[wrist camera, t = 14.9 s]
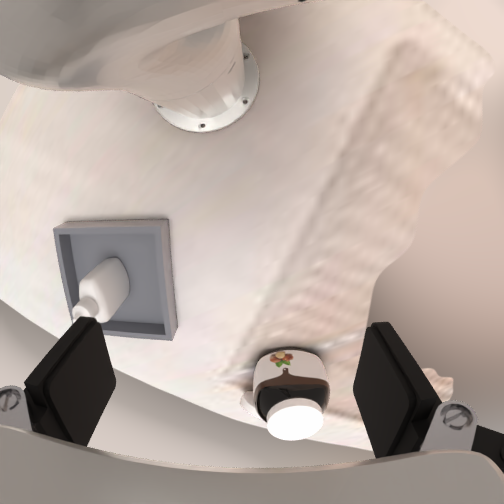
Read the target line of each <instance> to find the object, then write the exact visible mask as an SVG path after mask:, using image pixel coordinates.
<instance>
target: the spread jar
mask: <svg viewBox="0 0 504 504" xmlns="http://www.w3.org/2000/svg"><path fill="white" fill-rule="evenodd" d="M329 396H330V386H329V380H328V376H327V373H326V370H325V367H324V364H323V362H322V361H321V359H320V358H319V357H318V356H316V355H315V354H313V353H311V352H308V351H306V350H302V349H298V348H282V349H278V350H275V351H272V352H270V353H268V354H266V355H264V356H263V357H262V358H261V359H260V360H259V361H258V363H257V365H256V368H255V372H254V378H253V391H247V392H245V393H244V394H243V396H242V398H241V400H240V405H241V407H242V408H243V409H244V410H245V411H246V412H247V413H249V414H250V415H252V416H253V417H255V418H257V419H260V420H263V421H265V422H266V423H267V429H268V431H269V432H270V433H271V434H272V435H273V436H274V437H277V438H279V439H282V440H300V439H304V438H307V437H309V436H311V435H313V434H315V433H316V432H317V431H318V430H319V429H320V428H321V427H322V425H323V421H324V418H323V413H324V412H325V410H326V408H327V405H328V402H329Z"/></svg>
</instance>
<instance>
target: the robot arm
mask: <svg viewBox="0 0 504 504" xmlns="http://www.w3.org/2000/svg"><path fill="white" fill-rule="evenodd" d="M316 1H323V0H0V75H2V76H4V77H6V78H8V79H10V80H13V81H15V82H18V83H21V84H24V85H27V86H31V87H35V88H40V89H45V90H54V91H78V92H79V91H102V90H122V91H126V92H129V93H132V94H134V95H137V96H139V97H141V98H143V99H146V100H148V101H151V102H152V103H153V104H154V106H155V108H156V110H157V112H158V113H159V114H160V115H161V116H162V118H163V119H165V120H166V121H167V122H168V123H170V124H171V125H173V126H175V127H177V128H179V129H182V130H185V131H189V132H195V133H207V132H213V131H217V130H220V129H223V128H226V127H228V126H230V125H231V124H233V123H235V122H236V121H237V120H239V119H240V118H241V117H242V116H244V114H245V113H246V112H247V111H248V110H249V108H250V107H251V105H252V103H253V102H254V100H255V98H256V95H257V91H258V87H259V70H258V65H257V62H256V60H255V58H254V56H253V54H252V53H251V51H250V50H249V49H248V47H247V46H246V45H244V44H243V43H242V42H241V37H240V26H239V20H238V18H240V17H244V16H248V15H251V14H255V13H259V12H264V11H268V10H272V9H277V8H282V7H287V6H292V5H297V4H303V3H309V2H316ZM245 56H247V57H248V59H244V57H245ZM244 100H247V101H248V103H247V104H244V103H243V101H244ZM161 106H162V107H163V108H162V107H161ZM202 124H205V127H204V128H201V125H202ZM24 384H25V386H26V388H25V389H24V391H23V390H22V389H21V388H20V387H17V386H5V387H2V388H0V504H504V434H502V433H499V432H496V431H493V430H490V429H487V428H485V427H482V426H479V425H477V415H476V412H475V411H474V410H473V408H472V407H470V406H469V405H468V404H466V403H464V402H461V401H456V400H450V401H446V402H443V403H442V401H441V400H440V398H439V397H438V395H437V393H436V392H435V390H434V389H433V387H432V385H431V384H430V382H429V381H428V379H427V378H426V376H425V374H424V373H423V371H422V370H421V368H420V367H419V365H418V364H417V362H416V361H415V359H414V358H413V356H412V355H411V353H410V352H409V351H408V349H407V347H406V346H405V345H404V343H403V342H402V340H401V339H400V337H399V336H398V334H397V333H396V331H395V330H394V328H393V327H392V326H391V324H390V323H389V322H375V323H372V325H371V327H368V328H367V329H366V333H365V338H364V342H363V347H362V351H361V356H360V360H359V364H358V368H357V372H356V377H355V380H354V385H353V393H354V396H355V399H356V402H357V405H358V408H359V410H360V413H361V416H362V419H363V422H364V425H365V428H366V431H367V434H368V437H369V439H370V442H371V445H372V448H373V451H374V454H375V457H376V459H369V460H363V461H355V462H347V463H338V464H329V465H319V466H306V467H286V468H229V467H211V466H198V465H187V464H178V463H169V462H162V461H155V460H149V459H142V458H137V457H131V456H125V455H121V454H116V453H111V452H106V451H102V450H98V449H94V448H90V447H87V445H88V443H89V441H90V438H91V436H92V434H93V432H94V430H95V428H96V426H97V424H98V422H99V419H100V417H101V415H102V413H103V411H104V409H105V407H106V405H107V403H108V401H109V399H110V397H111V395H112V393H113V391H114V389H115V386H116V378H115V375H114V371H113V368H112V364H111V361H110V357H109V354H108V350H107V346H106V342H105V338H104V334H103V330H102V326H101V324H100V322H97V320H96V318H94V317H85V316H80V317H79V318H78V319H77V320H76V321H75V322H74V323H73V325H72V326H71V327H70V328H69V329H68V330H67V331H66V332H65V334H64V335H63V336H62V337H61V338H60V339H59V341H58V342H57V343H56V344H55V345H54V346H53V348H52V349H51V350H50V351H49V352H48V354H47V355H46V356H45V357H44V358H43V359H42V361H41V362H40V363H39V364H38V365H37V367H36V368H35V369H34V370H33V372H32V373H31V374H30V375H29V377H28V378H27V379H26V380H25V382H24Z"/></svg>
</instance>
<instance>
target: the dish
mask: <svg viewBox="0 0 504 504" xmlns="http://www.w3.org/2000/svg"><path fill="white" fill-rule="evenodd" d="M53 231H54V238H55V245H56V251H57V257H58V262H59V267H60V273H61V278H62V282H63V287H64V292H65V296H66V300H67V304H68V308H69V312H70V316H71V320H72V324H73V319H74V317H73V315H72V309H73V307H74V306H75V305H76V304H77V303H78V302H79V301H80V298H79V285H80V282H81V280H82V279H83V278H84V277H85V276H86V275H87V274H88V273H89V272H91V271H92V270H93V269H94V268H95V267H96V266H98V265H99V264H100V263H101V262H102V261H104V260H105V259H109V258H118V259H119V260H120V261H121V263H122V264H123V266H124V268H125V270H126V272H127V275H128V278H129V285H130V289H129V295H128V296H127V298H126V299H125V300H124V302H123V303H122V304H121V306H120V307H119V308H118V310H117V311H116V312H115V313H114V315H113V316H112V317H111V318H110V320H109V321H107V322H104V323H100V324H101V326H102V330H103V334H104V335H110V336H120V337H131V338H142V339H155V340H170V341H172V340H173V338H174V335H175V333H176V330H177V328H178V324H177V315H176V306H175V296H174V286H173V275H172V264H171V251H170V237H169V220H168V219H155V220H109V221H78V222H65V223H63V224H61V225H59V226H57V227H55V228H53Z"/></svg>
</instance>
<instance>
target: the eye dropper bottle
mask: <svg viewBox="0 0 504 504" xmlns="http://www.w3.org/2000/svg"><path fill="white" fill-rule="evenodd" d="M129 289H130V285H129V278H128V275H127V272H126V270H125V268H124V266H123V264H122V263H121V261H120V260H119V259H118V258H109V259H105V260H104V261H102V262H101V263H100V264H99V265H98V266H96V267H95V268H94V269H93V270H92V271H91V272H89V273H88V274H87V275H86V276H85V277H84V278H83V279H82V280H81V282H80V285H79V298H80V301H79V302H78V303H77V304H76V305H75V306H74V307H73V309H72V315H73V317H74V319H73V323H74V322H75V321H76V320H77V319H78V318H79V317H80V316H85V317H94V318H96V320H97V322H100V323H104V322H107V321H109V320H110V318H111V317H112V316H113V315H114V313H115V312H116V311H117V310H118V308H119V307H120V306H121V304H122V303H123V302H124V300H125V299H126V298H127V296H128V295H129Z"/></svg>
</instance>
